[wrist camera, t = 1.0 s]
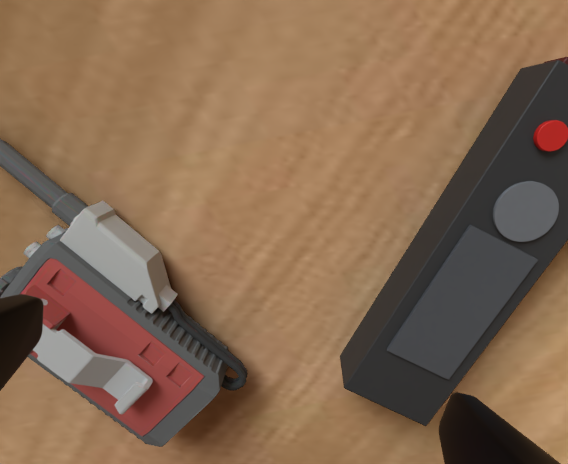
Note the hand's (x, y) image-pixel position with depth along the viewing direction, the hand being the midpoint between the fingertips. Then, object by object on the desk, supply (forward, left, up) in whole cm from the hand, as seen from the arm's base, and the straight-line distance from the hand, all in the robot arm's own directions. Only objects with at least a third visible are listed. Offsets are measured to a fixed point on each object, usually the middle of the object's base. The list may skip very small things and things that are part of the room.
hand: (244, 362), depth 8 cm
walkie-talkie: (+1, +11, -13) cm, 17 cm away
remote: (-5, -8, -12) cm, 15 cm away
